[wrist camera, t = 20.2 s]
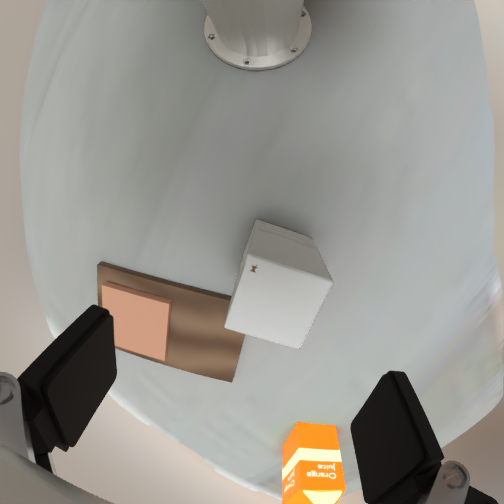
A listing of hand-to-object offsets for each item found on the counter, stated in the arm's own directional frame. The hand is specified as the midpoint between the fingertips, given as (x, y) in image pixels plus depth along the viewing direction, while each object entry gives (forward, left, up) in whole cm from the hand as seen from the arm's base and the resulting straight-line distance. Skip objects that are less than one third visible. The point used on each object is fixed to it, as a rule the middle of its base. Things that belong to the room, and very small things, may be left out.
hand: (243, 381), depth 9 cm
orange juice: (+38, +18, -26) cm, 50 cm away
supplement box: (+4, +2, -26) cm, 27 cm away
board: (+18, -10, -26) cm, 33 cm away
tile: (+18, -14, -24) cm, 33 cm away
